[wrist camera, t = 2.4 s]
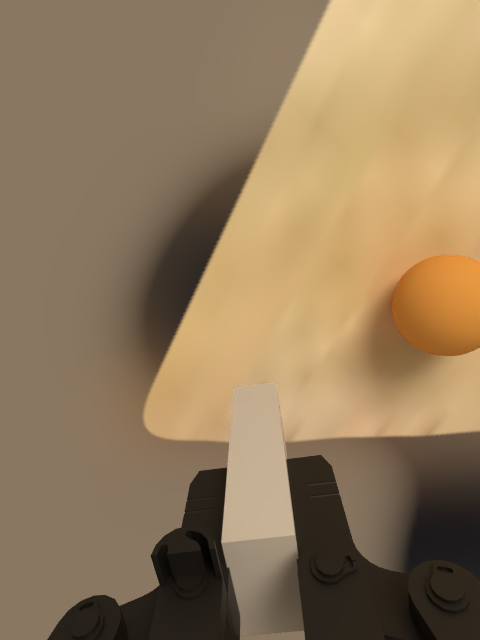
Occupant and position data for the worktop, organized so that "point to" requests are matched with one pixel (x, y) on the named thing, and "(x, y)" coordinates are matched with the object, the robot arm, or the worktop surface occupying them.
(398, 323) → the ball
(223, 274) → the worktop surface
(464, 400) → the worktop surface
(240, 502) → the robot arm
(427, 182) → the worktop surface
